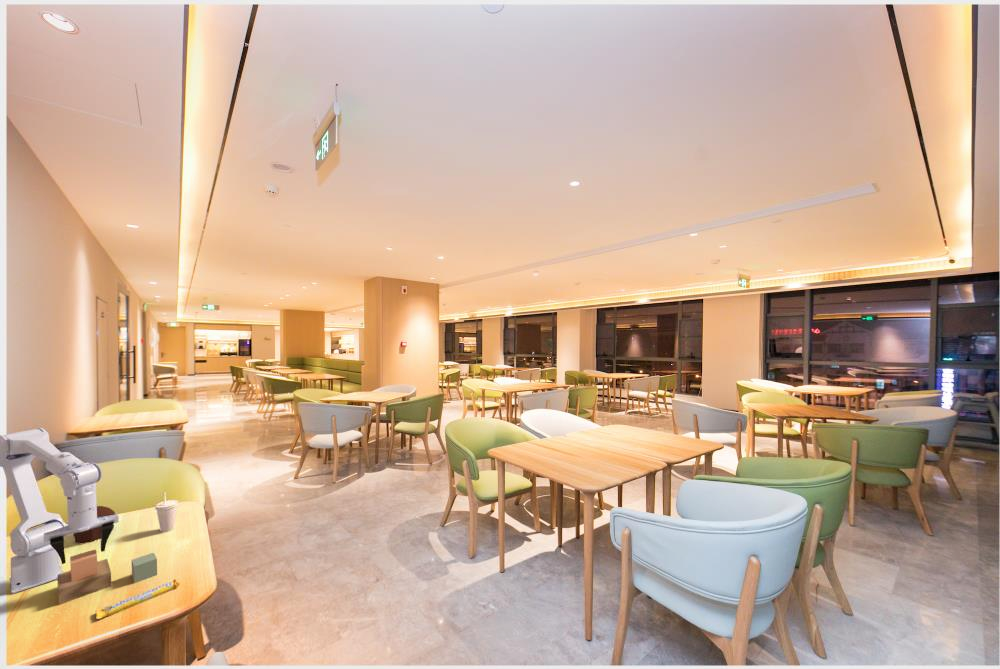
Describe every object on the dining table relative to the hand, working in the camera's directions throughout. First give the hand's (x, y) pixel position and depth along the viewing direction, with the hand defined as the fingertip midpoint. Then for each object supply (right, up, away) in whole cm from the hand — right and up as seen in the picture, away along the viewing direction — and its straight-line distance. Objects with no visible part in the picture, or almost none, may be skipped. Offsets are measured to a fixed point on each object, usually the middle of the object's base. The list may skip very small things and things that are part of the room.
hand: (83, 556), depth 112 cm
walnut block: (0, -9, 0) cm, 9 cm away
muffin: (-25, -9, +27) cm, 38 cm away
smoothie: (-3, -8, +32) cm, 33 cm away
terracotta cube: (0, -5, 0) cm, 5 cm away
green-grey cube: (+12, -9, +5) cm, 16 cm away
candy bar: (+21, -10, -5) cm, 23 cm away
